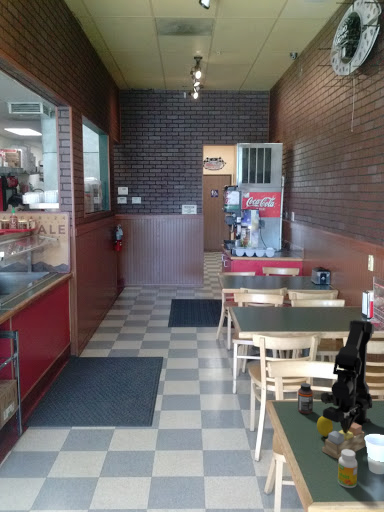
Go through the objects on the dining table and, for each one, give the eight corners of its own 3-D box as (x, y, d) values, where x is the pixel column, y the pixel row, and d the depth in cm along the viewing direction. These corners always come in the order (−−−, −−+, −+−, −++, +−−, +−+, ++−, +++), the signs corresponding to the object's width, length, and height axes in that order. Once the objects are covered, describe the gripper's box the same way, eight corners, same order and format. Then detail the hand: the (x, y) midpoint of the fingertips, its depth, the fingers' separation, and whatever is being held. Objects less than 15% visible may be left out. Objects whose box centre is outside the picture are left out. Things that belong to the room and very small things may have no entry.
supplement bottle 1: (300, 407, 195) (300, 380, 194) (314, 410, 192) (315, 383, 191) (295, 412, 190) (296, 385, 189) (310, 415, 187) (310, 388, 186)
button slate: (334, 441, 160) (334, 430, 160) (343, 445, 157) (344, 434, 157) (328, 444, 158) (328, 433, 158) (337, 449, 155) (337, 437, 155)
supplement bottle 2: (334, 483, 141) (335, 452, 140) (343, 475, 145) (344, 446, 144) (351, 490, 137) (352, 459, 136) (359, 483, 141) (361, 452, 140)
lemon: (329, 432, 172) (330, 412, 172) (334, 440, 167) (335, 418, 166) (314, 433, 172) (315, 412, 171) (319, 440, 167) (319, 419, 166)
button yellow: (343, 440, 164) (343, 429, 163) (352, 444, 161) (352, 433, 160) (337, 443, 161) (337, 432, 161) (346, 447, 159) (346, 436, 158)
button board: (349, 437, 169) (349, 425, 168) (366, 445, 163) (367, 433, 163) (322, 451, 159) (322, 438, 159) (339, 460, 154) (340, 447, 153)
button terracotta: (352, 432, 167) (352, 422, 166) (361, 436, 164) (361, 425, 163) (346, 435, 164) (346, 424, 164) (355, 439, 162) (355, 428, 161)
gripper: (342, 376, 171) (341, 416, 173) (310, 388, 160) (308, 431, 161) (370, 385, 162) (368, 428, 164) (338, 398, 151) (336, 444, 153)
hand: (345, 432), depth 161 cm, fingers closed, pressing on button yellow
